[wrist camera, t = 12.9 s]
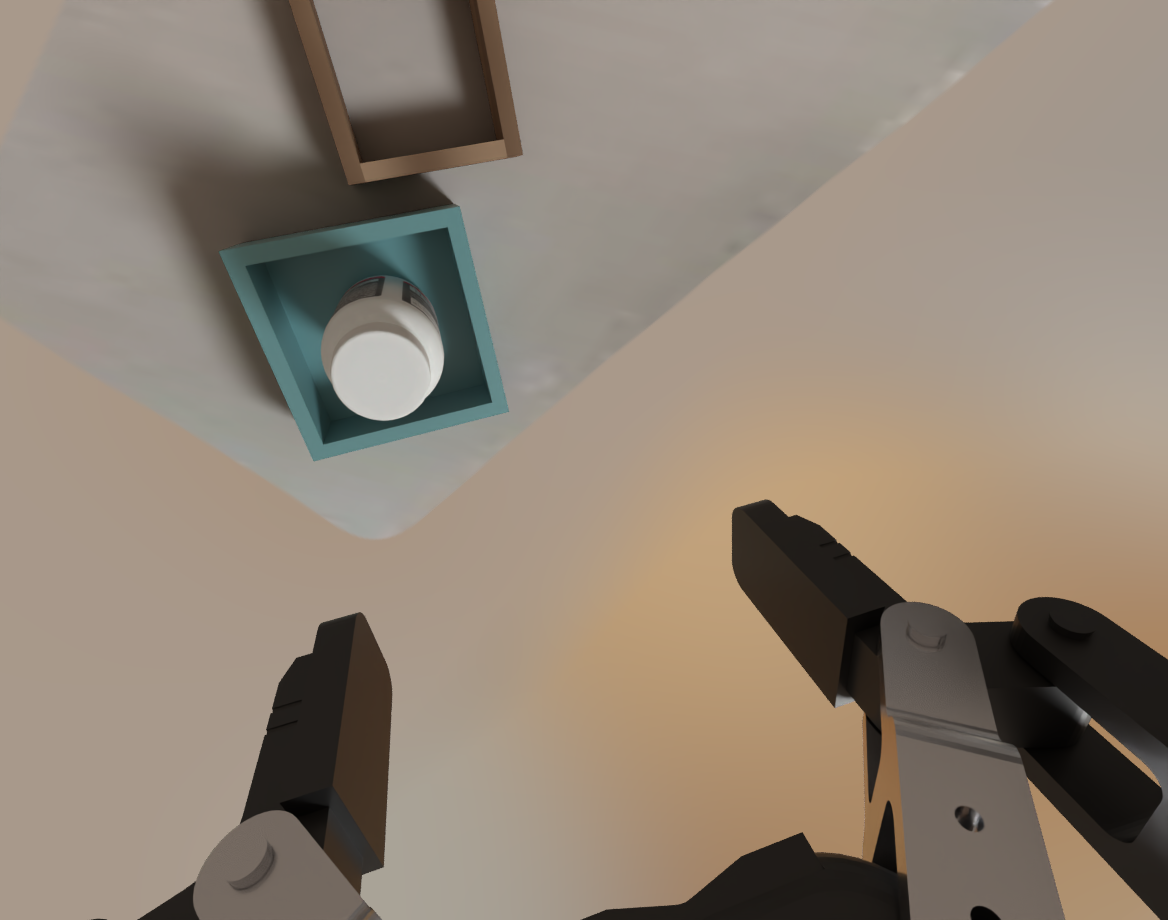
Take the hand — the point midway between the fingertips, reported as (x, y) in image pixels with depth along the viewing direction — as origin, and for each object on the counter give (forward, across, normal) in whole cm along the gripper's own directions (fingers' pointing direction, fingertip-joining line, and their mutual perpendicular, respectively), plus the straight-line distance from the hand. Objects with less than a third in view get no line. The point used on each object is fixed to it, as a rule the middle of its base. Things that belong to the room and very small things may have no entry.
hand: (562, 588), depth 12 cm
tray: (+25, +5, -1) cm, 25 cm away
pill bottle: (+24, +4, -1) cm, 25 cm away
